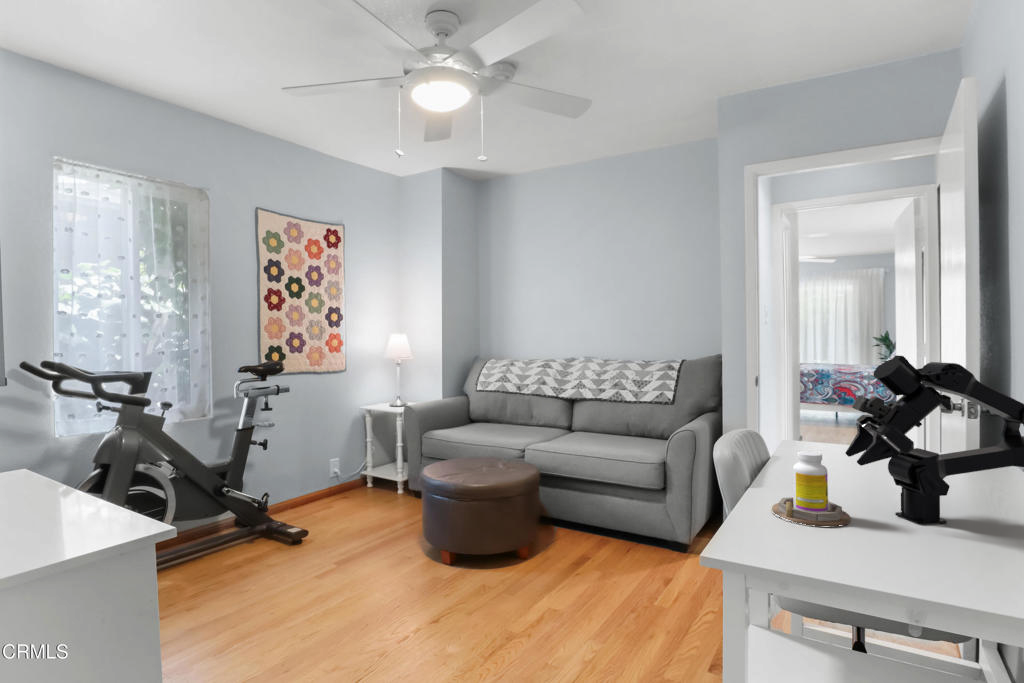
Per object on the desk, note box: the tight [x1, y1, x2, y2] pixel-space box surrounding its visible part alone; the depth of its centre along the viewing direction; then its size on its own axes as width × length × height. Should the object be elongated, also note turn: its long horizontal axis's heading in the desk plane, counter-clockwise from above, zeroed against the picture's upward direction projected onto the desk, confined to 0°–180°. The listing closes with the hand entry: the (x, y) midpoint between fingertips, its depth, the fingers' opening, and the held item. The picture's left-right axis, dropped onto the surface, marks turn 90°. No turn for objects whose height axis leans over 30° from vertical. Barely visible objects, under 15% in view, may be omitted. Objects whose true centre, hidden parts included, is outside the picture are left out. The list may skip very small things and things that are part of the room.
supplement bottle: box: [792, 450, 829, 513], centre depth 120 cm, size 7×7×13 cm
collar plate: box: [771, 496, 851, 526], centre depth 120 cm, size 15×15×4 cm
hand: (852, 459), depth 121 cm, fingers open, 9 cm apart
